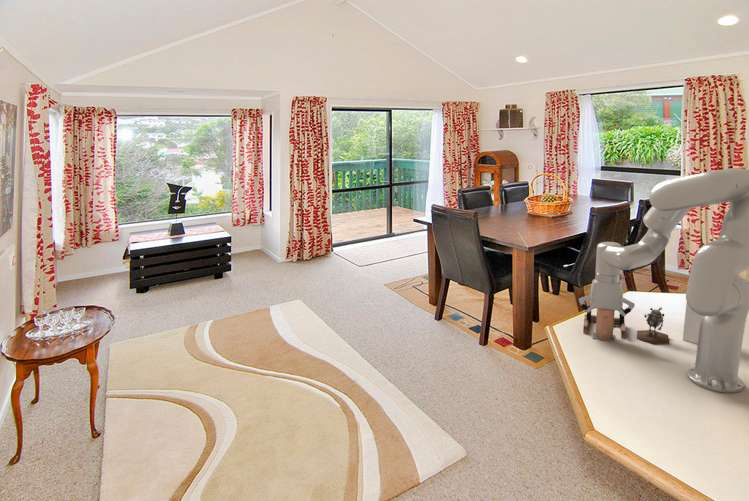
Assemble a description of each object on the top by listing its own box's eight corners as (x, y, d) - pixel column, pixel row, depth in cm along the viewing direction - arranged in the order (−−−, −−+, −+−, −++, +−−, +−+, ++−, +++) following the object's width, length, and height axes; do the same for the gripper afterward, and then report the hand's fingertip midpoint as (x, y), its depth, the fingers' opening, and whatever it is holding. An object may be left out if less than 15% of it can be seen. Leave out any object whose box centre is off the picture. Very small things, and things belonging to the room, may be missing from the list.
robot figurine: (628, 336, 153) (630, 304, 150) (643, 329, 157) (645, 298, 154) (661, 347, 143) (664, 313, 141) (676, 340, 148) (679, 307, 145)
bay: (625, 338, 151) (625, 331, 150) (583, 333, 157) (583, 326, 157) (623, 325, 162) (624, 318, 161) (584, 321, 168) (584, 314, 167)
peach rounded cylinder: (612, 334, 154) (614, 306, 152) (613, 343, 148) (615, 313, 145) (595, 332, 157) (597, 304, 154) (595, 341, 150) (596, 311, 148)
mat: (615, 341, 149) (615, 340, 149) (592, 338, 153) (592, 338, 153) (614, 335, 154) (614, 335, 154) (592, 333, 157) (592, 332, 157)
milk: (703, 345, 143) (710, 283, 138) (681, 339, 148) (688, 279, 142) (709, 339, 146) (717, 278, 141) (688, 334, 151) (695, 275, 146)
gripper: (635, 276, 147) (632, 322, 151) (580, 272, 155) (578, 316, 159) (637, 282, 141) (633, 330, 145) (579, 278, 149) (577, 324, 153)
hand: (604, 323), depth 152 cm, fingers open, 9 cm apart
